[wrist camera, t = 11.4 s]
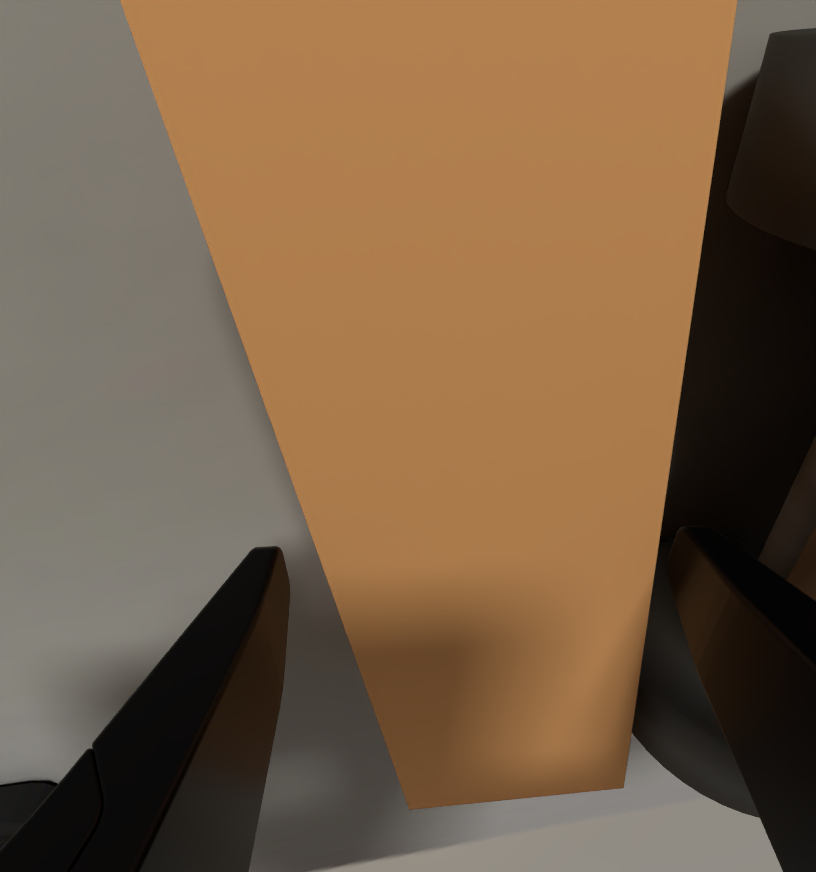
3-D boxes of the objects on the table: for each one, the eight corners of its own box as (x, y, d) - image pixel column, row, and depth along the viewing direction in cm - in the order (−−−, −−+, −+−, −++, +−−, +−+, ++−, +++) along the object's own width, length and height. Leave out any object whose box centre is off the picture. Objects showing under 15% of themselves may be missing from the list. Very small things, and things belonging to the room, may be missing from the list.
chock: (578, -106, 8) (769, -228, 4) (568, 608, 17) (623, 788, 13) (231, -37, 8) (90, -85, 4) (404, 628, 18) (409, 809, 14)
